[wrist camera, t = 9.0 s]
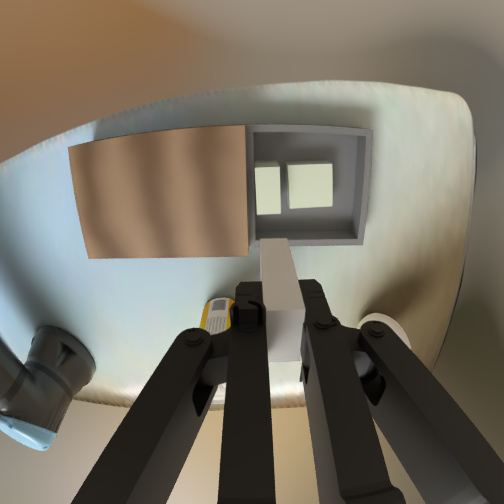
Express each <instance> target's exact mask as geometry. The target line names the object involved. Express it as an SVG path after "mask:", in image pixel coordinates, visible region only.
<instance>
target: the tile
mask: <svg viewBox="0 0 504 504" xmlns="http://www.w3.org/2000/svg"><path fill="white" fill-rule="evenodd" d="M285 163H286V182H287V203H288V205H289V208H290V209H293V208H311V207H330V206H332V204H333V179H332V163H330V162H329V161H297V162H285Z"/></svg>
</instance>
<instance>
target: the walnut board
mask: <svg viewBox="0 0 504 504" xmlns="http://www.w3.org/2000/svg"><path fill="white" fill-rule="evenodd" d="M245 125H246V124H240V125H218V126H202V127H189V128H179V129H169V130H160V131H152V132H144V133H137V134H130V135H124V136H118V137H112V138H106V139H101V140H96V141H91V142H87V143H83V144H79V145H75V146H71V147H68V151H69V160H70V167H71V174H72V181H73V187H74V193H75V199H76V204H77V210H78V215H79V220H80V224H81V229H82V233H83V238H84V242H85V246H86V250H87V254H88V258H89V259H102V258H178V257H242V256H248V254H249V238H248V202H247V165H246V127H245Z"/></svg>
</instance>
